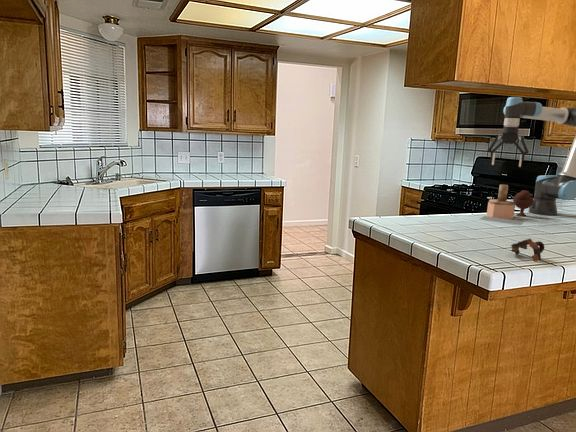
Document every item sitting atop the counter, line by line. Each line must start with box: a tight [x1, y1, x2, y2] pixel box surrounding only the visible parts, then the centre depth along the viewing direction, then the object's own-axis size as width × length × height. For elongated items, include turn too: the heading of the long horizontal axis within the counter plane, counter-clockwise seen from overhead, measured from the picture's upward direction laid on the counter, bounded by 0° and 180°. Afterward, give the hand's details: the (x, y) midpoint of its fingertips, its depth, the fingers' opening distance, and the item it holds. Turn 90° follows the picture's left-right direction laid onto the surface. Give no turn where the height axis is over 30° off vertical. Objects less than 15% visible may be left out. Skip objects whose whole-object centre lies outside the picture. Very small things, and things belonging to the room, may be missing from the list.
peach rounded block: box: [488, 184, 516, 206], centre depth 248 cm, size 13×13×10 cm
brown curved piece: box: [510, 238, 545, 262], centre depth 165 cm, size 12×10×8 cm
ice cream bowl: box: [512, 189, 534, 218], centre depth 257 cm, size 11×11×15 cm
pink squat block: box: [486, 201, 516, 219], centre depth 250 cm, size 13×13×8 cm
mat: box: [479, 215, 525, 226], centre depth 238 cm, size 20×14×1 cm
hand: (506, 165), depth 247 cm, fingers open, 13 cm apart
